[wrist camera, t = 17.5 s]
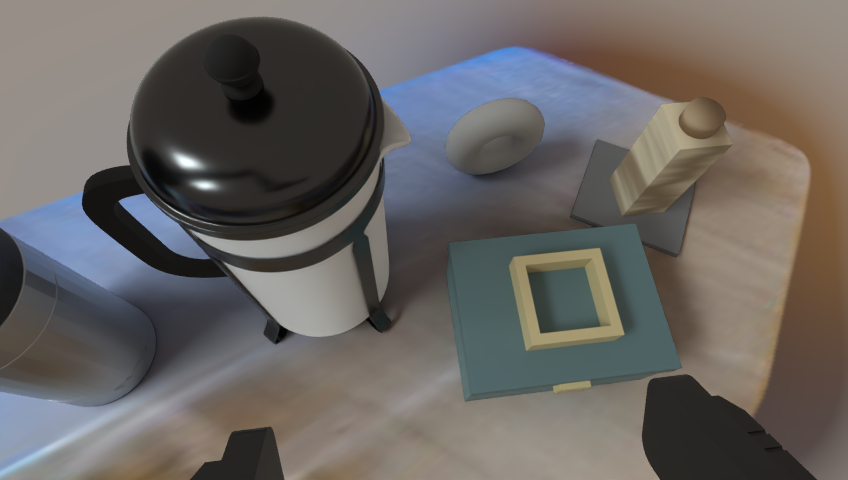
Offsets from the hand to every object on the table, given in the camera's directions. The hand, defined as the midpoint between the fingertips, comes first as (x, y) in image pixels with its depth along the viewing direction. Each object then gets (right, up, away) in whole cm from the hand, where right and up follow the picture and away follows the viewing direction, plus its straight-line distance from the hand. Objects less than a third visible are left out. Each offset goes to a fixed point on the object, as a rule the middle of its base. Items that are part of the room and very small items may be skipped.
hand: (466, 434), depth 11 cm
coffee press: (-11, 0, +38) cm, 39 cm away
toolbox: (+10, -4, +37) cm, 38 cm away
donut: (+6, +12, +44) cm, 46 cm away
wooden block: (+21, +9, +42) cm, 48 cm away
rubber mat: (+21, +9, +42) cm, 48 cm away
